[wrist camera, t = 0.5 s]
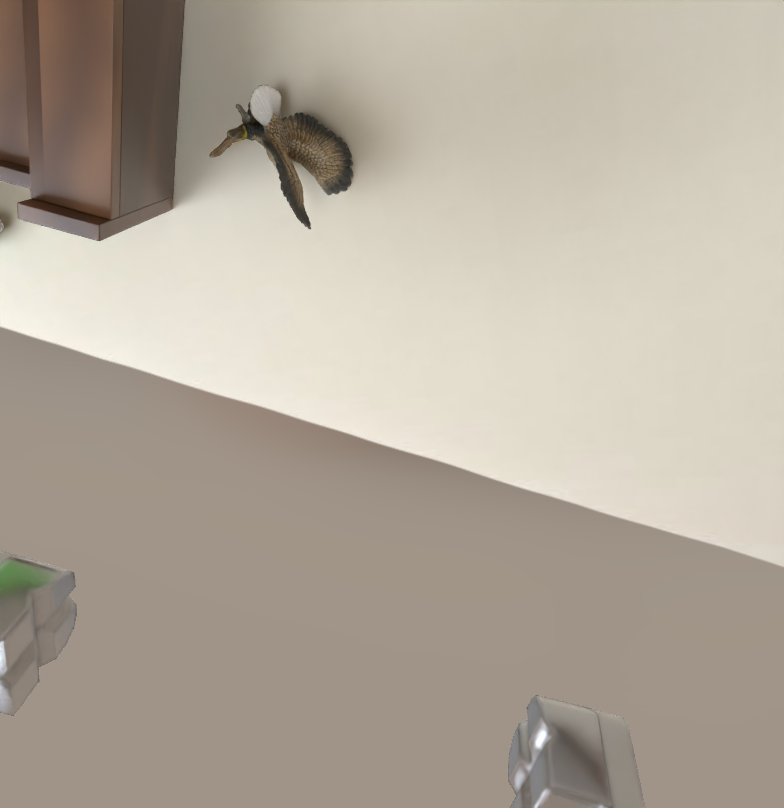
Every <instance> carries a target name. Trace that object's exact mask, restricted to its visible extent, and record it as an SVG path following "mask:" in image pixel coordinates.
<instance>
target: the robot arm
mask: <svg viewBox="0 0 784 808" xmlns="http://www.w3.org/2000/svg"><path fill="white" fill-rule="evenodd" d="M74 588H75V576H74V572H71V571H68V570H65V569H61V568H58V567H55V566H52V565H48V564H45V563H41V562H38V561H35V560H31V559H28V558H25V557H21V556H17V555H14V554H10V553H7V552H3V551H0V713H3V714H7V715H11V716H14V715H15V713H16V712H17V710H18V709H19V708H20V706H21V705H22V704H23V702H24V701H25V700H26V699H27V697H28V696H29V694H30V693H31V692H32V691H33V689H34V688H35V687H36V685H37V684H38V682H39V667H41V666H43V665H45V664H47V663H49V662H51V661H53V660H55V659H56V658H57V657H58V655H59V654H60V653H61V651H62V650H63V648H64V647H65V646H66V644H67V642H68V640H69V637H70V635H71V633H72V631H73V629H74V625H75V621H76V616H77V607H76V603H75V602H74V601H73V600H72V598H71V597H70V596H69V594H70V593H71V591H72V590H73V589H74ZM508 781H509V783H510V785H511V787H512V789H513V790H514V792H515V794H516V797H515V799H514V801H513V802H512V804H511V806H510V808H645V803H644V798H643V793H642V789H641V784H640V779H639V775H638V769H637V765H636V760H635V755H634V750H633V746H632V741H631V736H630V732H629V727H628V724H627V722H626V721H625V719H624V718H622V717H618V716H614V715H610V714H607V713H603V712H599V711H596V710H592V709H590V708H587V707H583V706H579V705H575V704H570V703H567V702H563V701H559V700H555V699H551V698H547V697H543V696H539V695H535V696H534V697H533V698H532V699H531V701H530V703H529V705H528V707H527V720H526V721H524V722H522V723H519V725H518V727H517V729H516V731H515V733H514V736H513V739H512V744H511V748H510V753H509V764H508Z"/></svg>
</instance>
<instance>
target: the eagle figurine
mask: <svg viewBox="0 0 784 808" xmlns="http://www.w3.org/2000/svg"><path fill="white" fill-rule="evenodd" d="M248 107H249V109H248V111H247V113H246V112H245V110H244V109H243V108H242V106H241V105H239V104H237V105H236V108H237V109H238V110H239V112H240V114H241V116H242V122H243V124H241V125H240V126H239V127H238V128H235V129H232V130H229V131H227V135H228V136H227V138H226V139H225V140H224V141H223V142H222V143H221V144H220V145H219V146H218V147H217V148H216V149H214V150H213V151H212V152H211V154H210V157H216V156H219V155H221V154H222V153H223V152H224V151H225V150H226V149H227V148H228V147H230V146H231V144H232V143H234V142H239V141H241V140H244V139H246V138H247V139H249V140H256V141H258V142H259V143H260V144H261V145H262V146H264V148H265V149H266V151H267V154H268V157H269V159H270V160H271V161H272V162H273V164H274V166H275V168H276V170H277V171H278V173H279V179H280V181H281V190H282V191H283V194H284V196H285V197H286V198H287V201H288V202H289V204H290V206H291V208H292V210H293V211H294V213H295V215H296V217H297V218H298V219H299V220H300V221H301V223H303V224H304V225H305V226H306V227H308V228H309V229H311V227H310V225H311V224H310V221H309V218H308V216H307V214H306V211H305V208H304V204H303V203H304V201H303V188H302V184H301V182H300V179H299V177H298V174H297V172H296V170H295V168H294V165H293V164H292V162H291V160H290V159H292V160H294V161H296V162H298V163H299V164H301V165H302V166H303V167H304V168H305V169H307V170H308V171H309V173H311V174H312V175H313V176H314V177H315V178H316V180H317V182H318V183H319V185H320V186H321V187H322V189H323V190H324V192H326V194H327V195H331V194H332V193H334V194H338V193H339V192H340V190H341V191H346V190H347V187H348V186H350V185H351V180H350V178H351V177H353V172H352V170H351V168H350V166H352V165H353V162H352V161H351V160H350V158H351V153H350V151H349V149H348V148H347V146H346V144H345V143H344V142H343V141H342V139H341V138H340V137H337V136H336V135H335V134H334V133H333V132H332V131H328V129H327V128H325V127H324V126H323V125H322V124H319V123H318V121H317V120H316V119H315V118H314V117H311V116H310V115H305V114H303V113H296V114H295V115H294V116H292V115H291V116H289V118H287V117H284V118H283V119H281V118H280V110H281V109H280V108H281V95H280V93H279V92H278V91H277V90H275V89H273V88H271V87H270V86H268V85H264V86H262V85H260V86H259V87H258V88H256V89H255V90H254V92H253V95H252V97H251V101H250V102H249V105H248Z"/></svg>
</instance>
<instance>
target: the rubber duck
mask: <svg viewBox="0 0 784 808" xmlns="http://www.w3.org/2000/svg"><path fill="white" fill-rule="evenodd" d="M3 228H4V226H3V223H2V220H1V219H0V232H1V231H2V230H3Z"/></svg>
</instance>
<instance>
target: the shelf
mask: <svg viewBox="0 0 784 808" xmlns="http://www.w3.org/2000/svg"><path fill="white" fill-rule="evenodd" d="M184 1H185V0H0V181H4V182H8V183H11V184H15V185H19V186H22V187H26V188H30V189H31V198H32V199H29V200H25V201H21V202H18V203H17V207H18V219H20V220H24V221H27V222H31V223H35V224H38V225H42V226H46V227H49V228H53V229H57V230H60V231H64V232H68V233H71V234H75V235H79V236H82V237H86V238H89V239H93V240H97V241H101V240H103V239H106V238H108V237H110V236H112V235H115V234H117V233H119V232H122V231H124V230H126V229H128V228H131V227H133V226H135V225H138V224H140V223H142V222H145V221H147V220H149V219H151V218H154V217H156V216H158V215H161V214H163V213H165V212H168V211H170V210H172V201H173V186H174V170H175V153H176V136H177V119H178V102H179V85H180V69H181V52H182V35H183V18H184Z"/></svg>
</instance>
